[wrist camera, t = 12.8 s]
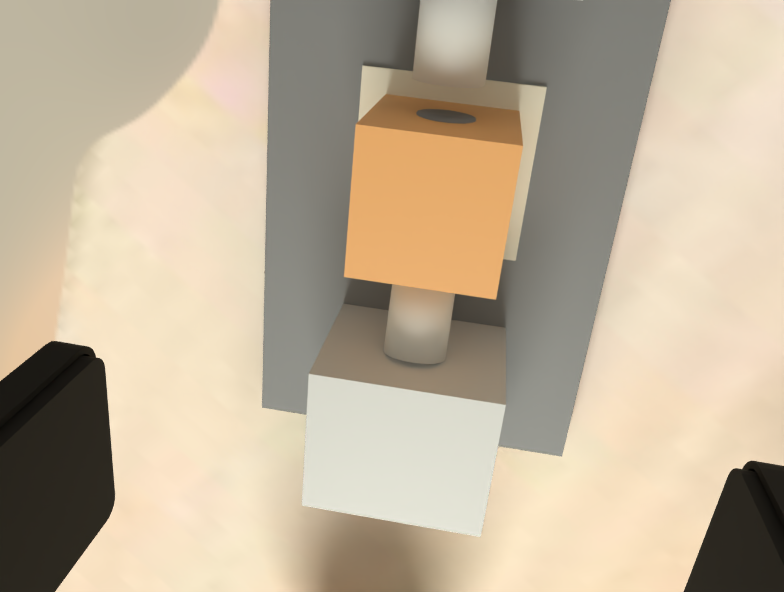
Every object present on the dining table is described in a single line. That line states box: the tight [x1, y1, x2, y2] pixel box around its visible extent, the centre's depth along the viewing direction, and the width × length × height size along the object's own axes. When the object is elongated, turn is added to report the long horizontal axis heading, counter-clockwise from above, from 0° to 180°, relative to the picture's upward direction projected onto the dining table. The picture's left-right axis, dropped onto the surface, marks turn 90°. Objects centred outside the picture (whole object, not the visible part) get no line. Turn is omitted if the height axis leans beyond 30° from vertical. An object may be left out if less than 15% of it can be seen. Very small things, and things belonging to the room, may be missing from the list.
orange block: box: [344, 94, 523, 300], centre depth 25 cm, size 5×5×6 cm
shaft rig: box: [262, 0, 671, 537], centre depth 26 cm, size 25×14×8 cm, turn 175°
